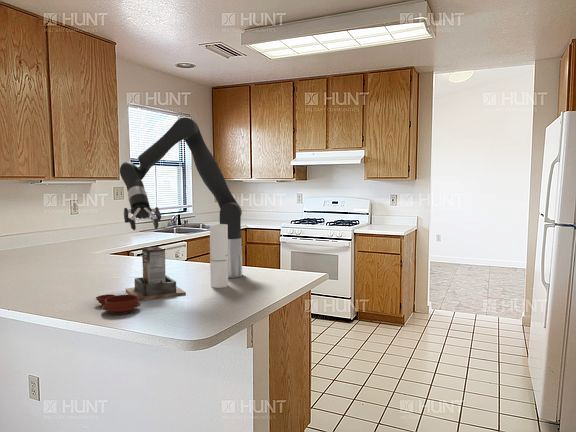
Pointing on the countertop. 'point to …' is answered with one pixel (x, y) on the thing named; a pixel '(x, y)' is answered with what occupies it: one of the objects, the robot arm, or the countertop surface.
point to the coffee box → (153, 265)
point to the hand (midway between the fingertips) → (145, 228)
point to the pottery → (118, 303)
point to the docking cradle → (155, 289)
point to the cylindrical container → (219, 255)
